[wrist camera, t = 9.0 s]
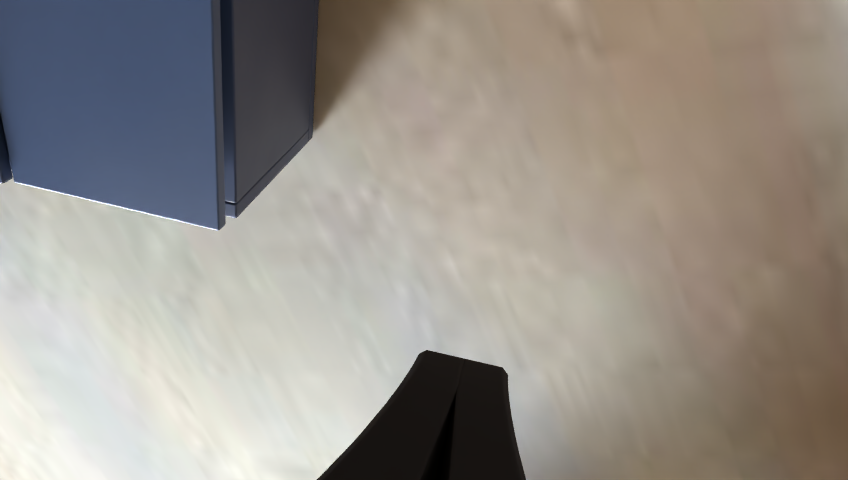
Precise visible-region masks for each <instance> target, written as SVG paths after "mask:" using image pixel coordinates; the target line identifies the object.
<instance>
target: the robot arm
mask: <svg viewBox="0 0 848 480" xmlns="http://www.w3.org/2000/svg"><path fill="white" fill-rule="evenodd" d="M317 480H526V478H525V474H524V470H523V466H522V462H521V458H520V455H519V451H518V446H517V442H516V437H515V432H514V427H513V421H512V416H511V409H510V402H509V393H508V374H507V373H506V372H505V370H504V369H503V368H502V367H498V366H494V365H489V364H485V363H481V362H476V361H472V360H468V359H463V358H459V357H455V356H450V355H446V354H442V353H437V352H433V351H429V350H426V351H424V352H422V353H420V354H419V355H418V357H417V359H416V361H415V362H414V364H413V366H412V367H411V369H410V371H409V372H408V374H407V375H406V377H405V378H404V380H403V381H402V383H401V384H400V385H399V387H398V388H397V390H396V391H395V392H394V394H393V395H392V396H391V398H390V399H389V400H388V401H387V403H386V404H385V405H384V407H383V408H382V409H381V410H380V411H379V413H378V414H377V415H376V416H375V417H374V419H373V420H372V421H371V422H370V423H369V424H368V426H367V427H366V428H365V429H364V430H363V432H362V433H361V434H360V435H359V436H358V437H357V439H356V440H355V441H354V442H353V443H352V444H351V445H350V446H349V447H348V448H347V449H346V450H345V451H344V452H343V453H342V454H341V455H340V456H339V458H338V459H337V460H336V461H335V462H334V463H333V464H332V465H331V466H330V467H329V468H328V469H327V470H326V471H325V472H324V473H323V474H322V475H321V476H320V477H319V478H318V479H317Z"/></svg>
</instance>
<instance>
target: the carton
mask: <svg viewBox="0 0 848 480" xmlns="http://www.w3.org/2000/svg"><path fill="white" fill-rule="evenodd" d="M318 6H319V0H220V21H221V62H222V102H223V142H224V182H225V216H228V217H233V218H237V217H238V216H239V215H240V214H241V213H242V212H243V211H244V209H245V208H246V207H247V206H248V205H249V204H250V203H251V202H252V201H253V200H254V199H255V198H256V197H257V196H258V195H259V194H260V192H261V191H262V190H263V189H264V188H265V187H266V186H267V185H268V184H269V183H270V182H271V181H272V180H273V179H274V178H275V177H276V175H277V174H278V173H279V172H280V171H281V170H282V169H283V168H284V167H285V166H286V165H287V164H288V163H289V162H290V161H291V160H292V158H293V157H294V156H295V155H296V154H297V153H298V152H299V151H300V150H301V149H302V148H303V147H304V146H305V145H306V144H307V142H308V141H309V140H310V139H311V138H312V135H313V113H314V92H315V70H316V49H317V27H318ZM11 170H12V168H11V163H10V158H9V153H8V148H7V143H6V138H5V133H4V128H3V122H2V117H1V112H0V183H5V182H7V181H8V180H10V179H12V177H13V176H12V171H11Z"/></svg>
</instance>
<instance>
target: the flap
mask: <svg viewBox="0 0 848 480" xmlns="http://www.w3.org/2000/svg"><path fill="white" fill-rule="evenodd" d="M0 112H1V117H2V122H3V128H4V133H5V138H6V143H7V148H8V153H9V158H10V163H11V168H12V173H13V178H14V182H16V183H20V184H24V185H28V186H32V187H36V188H41V189H45V190H49V191H53V192H58V193H62V194H66V195H70V196H74V197H79V198H83V199H87V200H91V201H96V202H100V203H104V204H108V205H112V206H117V207H121V208H125V209H129V210H133V211H138V212H142V213H146V214H150V215H155V216H159V217H163V218H167V219H171V220H176V221H180V222H184V223H188V224H193V225H197V226H201V227H205V228H209V229H214V230H220V229H221V228H222V227H223V226H224V225H225V182H224V142H223V102H222V62H221V21H220V0H0Z"/></svg>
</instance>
